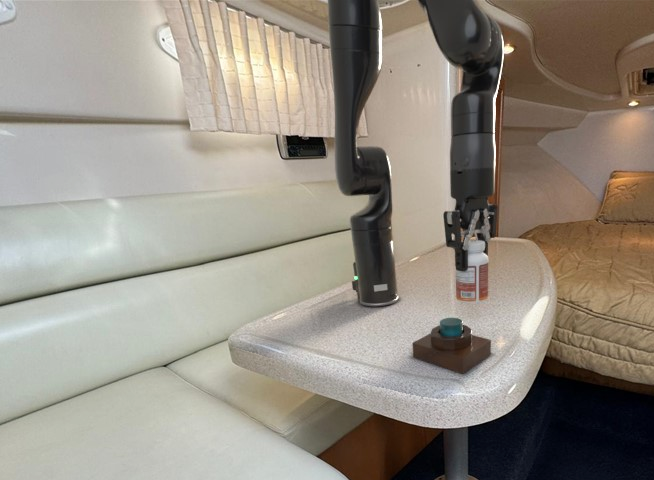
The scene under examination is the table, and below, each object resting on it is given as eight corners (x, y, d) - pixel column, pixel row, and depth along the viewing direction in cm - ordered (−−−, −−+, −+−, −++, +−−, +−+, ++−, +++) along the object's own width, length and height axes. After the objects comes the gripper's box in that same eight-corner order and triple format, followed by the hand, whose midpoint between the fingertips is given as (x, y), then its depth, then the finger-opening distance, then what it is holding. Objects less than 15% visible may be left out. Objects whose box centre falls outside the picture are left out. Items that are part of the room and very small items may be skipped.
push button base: (413, 357, 60) (411, 332, 58) (442, 341, 66) (441, 317, 64) (463, 374, 54) (462, 347, 52) (490, 354, 60) (491, 329, 58)
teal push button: (435, 334, 58) (435, 322, 57) (448, 327, 61) (448, 316, 60) (453, 339, 56) (453, 327, 55) (466, 332, 58) (466, 320, 58)
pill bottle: (480, 294, 74) (481, 238, 70) (493, 302, 69) (495, 242, 64) (451, 298, 73) (450, 241, 68) (462, 307, 68) (461, 246, 63)
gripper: (476, 167, 68) (476, 258, 75) (428, 169, 58) (432, 272, 66) (513, 164, 63) (508, 261, 71) (466, 166, 54) (467, 277, 61)
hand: (472, 266), depth 68 cm, fingers closed on pill bottle, 6 cm apart
